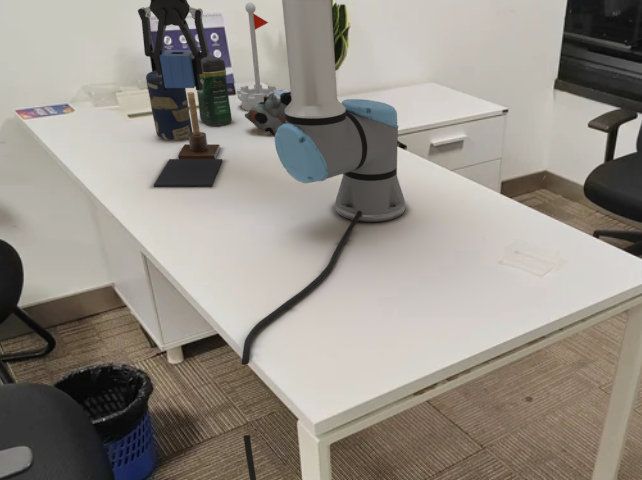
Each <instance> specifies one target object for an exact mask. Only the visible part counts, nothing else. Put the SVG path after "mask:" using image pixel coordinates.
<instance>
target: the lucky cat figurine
mask: <svg viewBox="0 0 642 480" xmlns="http://www.w3.org/2000/svg"><path fill="white" fill-rule="evenodd" d="M291 100H292V99H291V90H289V89H285V88H284V89H279V90H276V91H274V92H272V93H271V94H270V95H269V96H268V95H265V96H264V102H260V103H258V104H256V105H254V106H253V107H252V108H251V109H250V111H247V112H246V113H244V117H245V119H247V120H248V122H251V123H252V124H253V125H254V126H255V127H256V128H258V129H260V130H261V131H263V132H265V133H270V135H272V136H275V134H276V132H277V129H278V128H279V127H280V126H282V125H283V124H286V120H285V108H286V107H287V106H288V105H289V104H290V102H291Z"/></svg>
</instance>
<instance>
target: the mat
mask: <svg viewBox="0 0 642 480" xmlns="http://www.w3.org/2000/svg"><path fill="white" fill-rule="evenodd" d="M222 163H223V158H216V159H179V158H169V159H168V161H166V164H165V166H164V167H163V169H162V171H161V172H160V174H159V175H158V177H157V179H156V180H155V182H154V183H153V188H212V187H213V185H214V182H215V181H216V179H217V175H218V173H219V171H220V168H221V166H222Z"/></svg>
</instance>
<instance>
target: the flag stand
mask: <svg viewBox="0 0 642 480" xmlns="http://www.w3.org/2000/svg"><path fill="white" fill-rule="evenodd" d="M244 7H245V9H244V10H245V11H246V13H248V14H247V15H248V24H249V34H250V44H251V53H252V54H251V55H252V64H253V65H252V66H253V73H254V84H253V88H249V85H243V86H240V88H236V94H237V99H238V100H239V101H240V102H241V108H242V109H243V110H244V111H247V112H249V111H250V109H251V108H252V107H253V106H254V105H256V104H258V103H260V102H264V96H265V95H268V96H269V95H270V94H271V93H272V92H274V91H276V90H280V88H279V87H277V88H276V86H275V85H267V88H266V87H265V88H264V87H263V85H262V84H261V78H260V76H261V75H260V66H259V56H258V46H257V45H258V44H257V35H256V30H258V29H259V28H261V27H263V26H265V25H267V24H269V22H268V21H267V20H266V19H264V18H263V17H260V16H259V15H257V14H255V12H256V5H255V4H254V3H253V2H247V3H246V4H245V6H244Z"/></svg>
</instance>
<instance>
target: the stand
mask: <svg viewBox="0 0 642 480" xmlns="http://www.w3.org/2000/svg"><path fill="white" fill-rule="evenodd" d="M186 95H187V100H188V107H189V113H190V120H191V126H192V133H189V134H188V137H187V138H188V143H189V144H188V143H187V144H184V145H183V147H182V148H181V150H180V151H179V153H178V155H177V157H178V158H177V159H217V156H218V154H219V152H220V149H221V145H220V144H219V143H218V144H216V143H215V144H213V143H211V144H208V139H207V133H205V132H203V131H201V129H200V124H199V117H198V109H197V104H196V96H195V92H194V91H188V92H186Z"/></svg>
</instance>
